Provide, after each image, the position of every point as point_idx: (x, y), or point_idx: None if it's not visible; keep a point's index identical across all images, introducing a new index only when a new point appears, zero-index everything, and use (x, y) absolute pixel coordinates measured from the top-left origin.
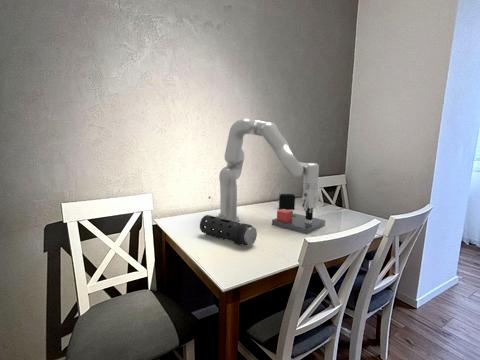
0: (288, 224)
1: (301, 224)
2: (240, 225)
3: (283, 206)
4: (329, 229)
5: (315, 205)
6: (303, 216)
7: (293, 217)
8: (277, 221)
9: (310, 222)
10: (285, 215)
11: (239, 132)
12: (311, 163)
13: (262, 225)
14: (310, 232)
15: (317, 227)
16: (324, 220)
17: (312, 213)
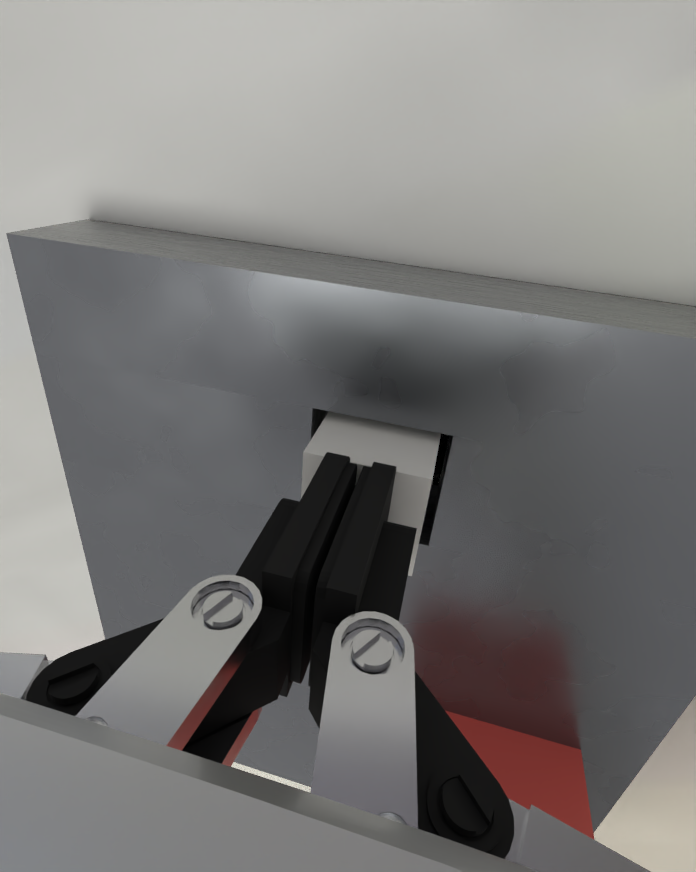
0: (673, 710)
1: (602, 553)
2: None
3: None
4: (226, 24)
5: (17, 816)
6: (141, 599)
7: (289, 693)
8: (596, 822)
9: (397, 441)
10: None
11: None
12: None
13: (634, 852)
14: (681, 306)
15: (373, 268)
16: (34, 242)
17: (283, 555)
